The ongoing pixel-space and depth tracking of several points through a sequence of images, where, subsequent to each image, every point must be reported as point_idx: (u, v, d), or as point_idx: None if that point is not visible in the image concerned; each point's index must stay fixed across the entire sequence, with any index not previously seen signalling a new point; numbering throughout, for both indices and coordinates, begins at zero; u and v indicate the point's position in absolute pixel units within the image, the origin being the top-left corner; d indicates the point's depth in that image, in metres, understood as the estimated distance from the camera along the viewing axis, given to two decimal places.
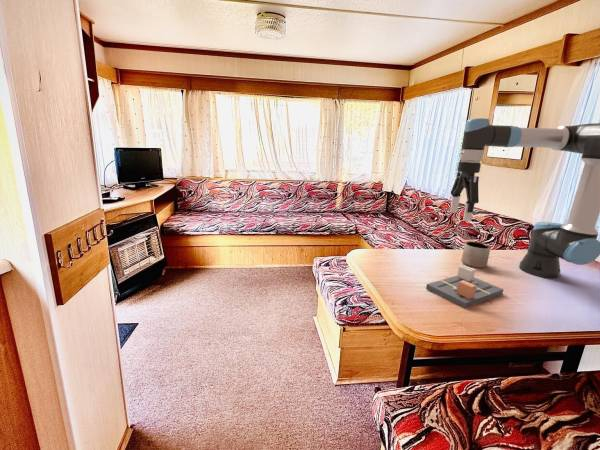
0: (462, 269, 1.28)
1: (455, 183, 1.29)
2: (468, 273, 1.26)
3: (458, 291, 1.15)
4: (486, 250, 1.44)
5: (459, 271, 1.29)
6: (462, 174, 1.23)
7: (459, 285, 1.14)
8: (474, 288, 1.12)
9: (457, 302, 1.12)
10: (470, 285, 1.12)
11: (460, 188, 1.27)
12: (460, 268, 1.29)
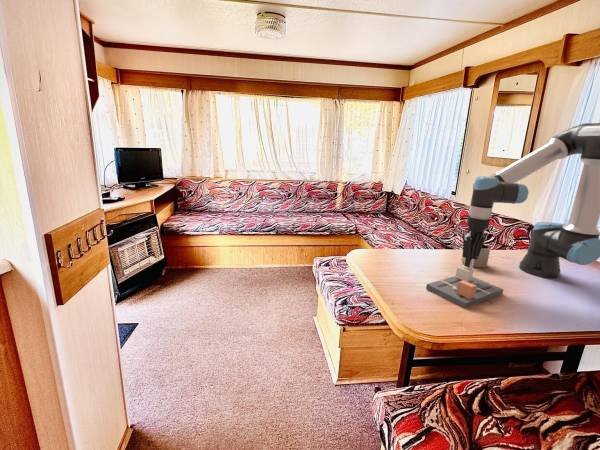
0: (460, 270, 1.27)
1: None
2: (466, 274, 1.25)
3: (458, 291, 1.15)
4: (486, 250, 1.44)
5: (457, 272, 1.29)
6: None
7: (459, 285, 1.14)
8: (474, 288, 1.12)
9: (457, 302, 1.12)
10: (470, 285, 1.12)
11: None
12: (458, 269, 1.28)
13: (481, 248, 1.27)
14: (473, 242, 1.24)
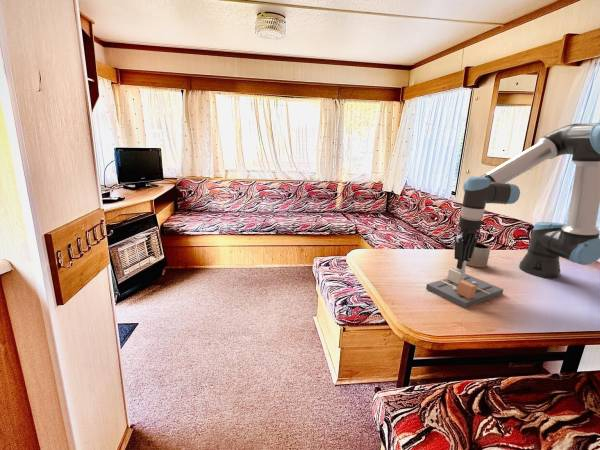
0: (452, 272, 1.25)
1: None
2: (458, 276, 1.23)
3: (458, 291, 1.15)
4: (486, 250, 1.44)
5: (448, 274, 1.26)
6: None
7: (459, 285, 1.14)
8: (474, 288, 1.12)
9: (457, 302, 1.12)
10: (470, 285, 1.12)
11: None
12: (450, 271, 1.25)
13: (473, 250, 1.25)
14: (465, 244, 1.21)
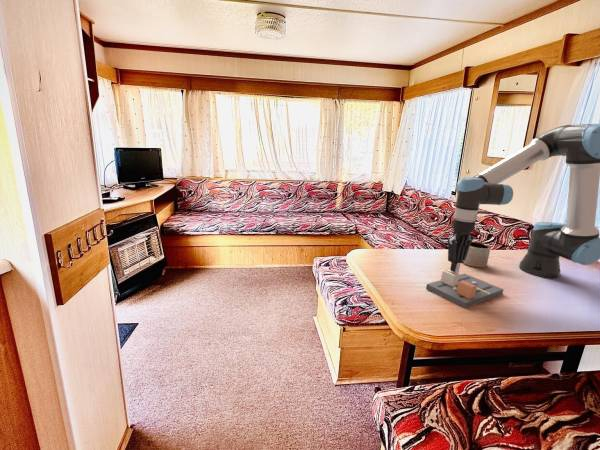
0: (445, 274, 1.23)
1: None
2: (451, 278, 1.21)
3: (458, 291, 1.15)
4: (486, 250, 1.44)
5: (442, 276, 1.24)
6: None
7: (459, 285, 1.14)
8: (474, 288, 1.12)
9: (457, 302, 1.12)
10: (470, 285, 1.12)
11: None
12: (443, 272, 1.23)
13: (467, 252, 1.23)
14: (459, 246, 1.19)
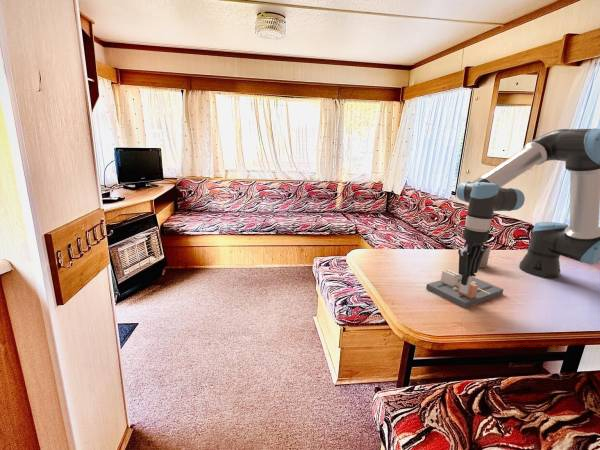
0: (445, 274, 1.23)
1: None
2: (451, 278, 1.21)
3: None
4: (486, 250, 1.44)
5: (442, 276, 1.24)
6: None
7: None
8: (476, 288, 1.12)
9: (457, 302, 1.12)
10: (472, 285, 1.12)
11: None
12: (443, 272, 1.23)
13: None
14: (470, 257, 1.08)
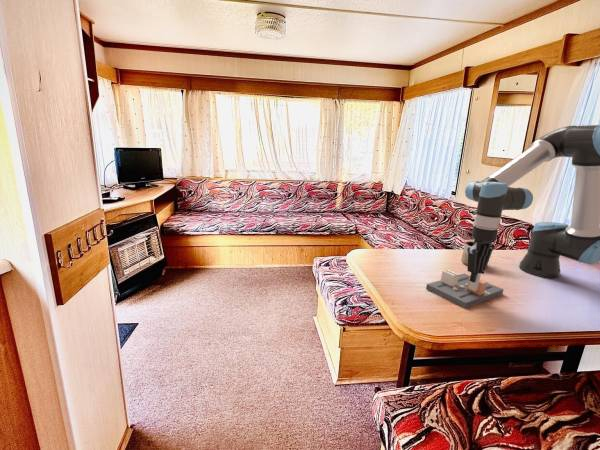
0: (445, 274, 1.23)
1: None
2: (451, 278, 1.21)
3: None
4: None
5: (442, 276, 1.24)
6: None
7: None
8: (484, 285, 1.15)
9: (457, 302, 1.12)
10: (480, 282, 1.15)
11: (480, 259, 1.13)
12: (443, 272, 1.23)
13: (488, 261, 1.14)
14: (479, 255, 1.11)
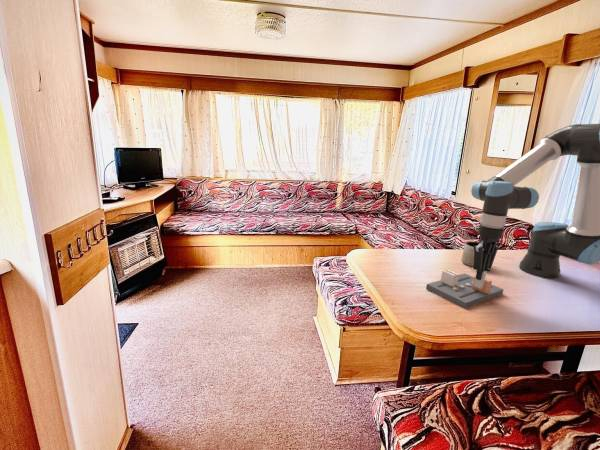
0: (445, 274, 1.23)
1: None
2: (451, 278, 1.21)
3: (474, 286, 1.20)
4: None
5: (442, 276, 1.24)
6: None
7: None
8: (490, 283, 1.17)
9: (457, 302, 1.12)
10: (486, 280, 1.17)
11: None
12: (443, 272, 1.23)
13: None
14: (485, 253, 1.12)
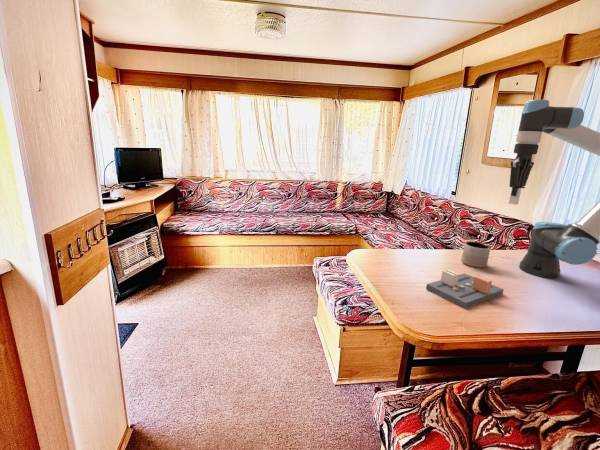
0: (445, 274, 1.23)
1: None
2: (451, 278, 1.21)
3: (474, 286, 1.20)
4: (486, 250, 1.44)
5: (442, 276, 1.24)
6: None
7: (475, 280, 1.19)
8: (490, 283, 1.17)
9: (457, 302, 1.12)
10: (486, 280, 1.17)
11: None
12: (443, 272, 1.23)
13: None
14: (521, 169, 1.22)
